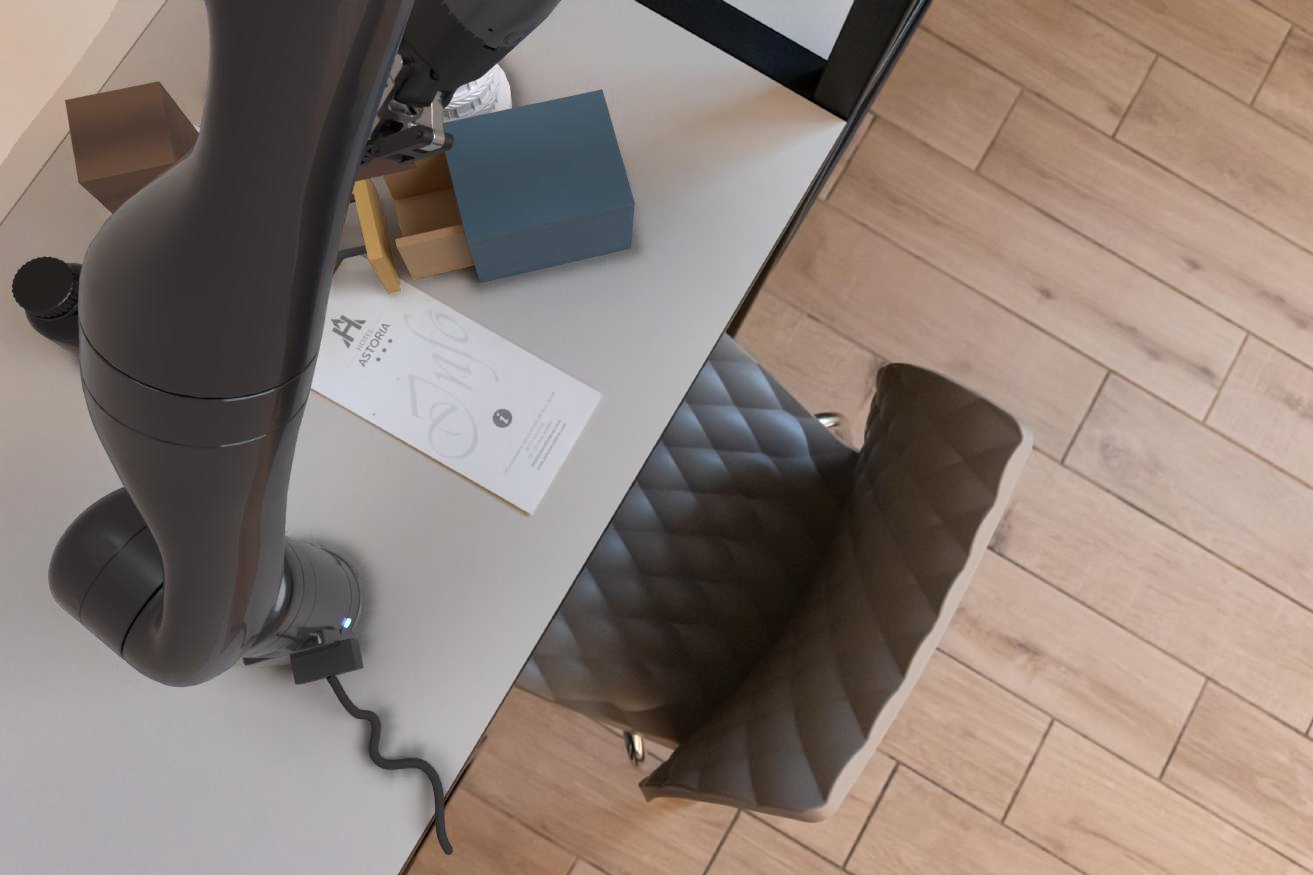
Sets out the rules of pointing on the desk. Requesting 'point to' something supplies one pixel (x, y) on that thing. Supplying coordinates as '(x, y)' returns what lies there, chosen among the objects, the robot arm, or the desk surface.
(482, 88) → the decorative container
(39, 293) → the supplement bottle
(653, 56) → the desk surface
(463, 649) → the desk surface
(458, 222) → the drawer
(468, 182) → the cabinet
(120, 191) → the riser
